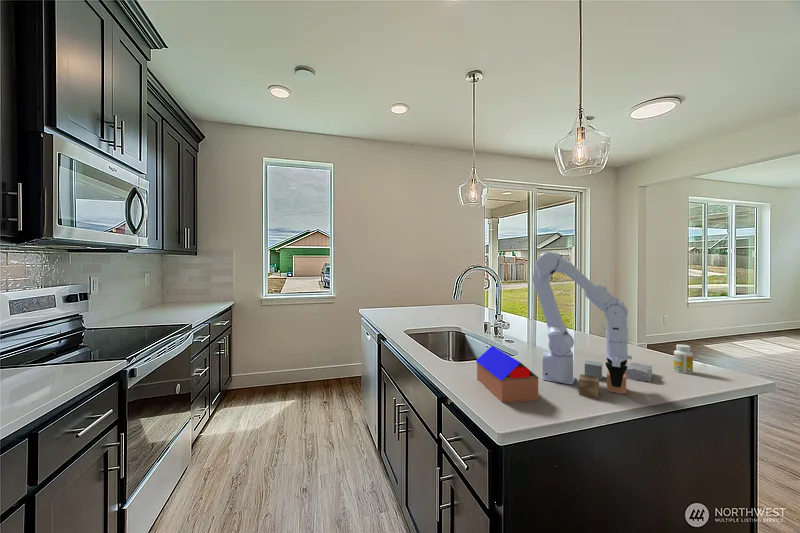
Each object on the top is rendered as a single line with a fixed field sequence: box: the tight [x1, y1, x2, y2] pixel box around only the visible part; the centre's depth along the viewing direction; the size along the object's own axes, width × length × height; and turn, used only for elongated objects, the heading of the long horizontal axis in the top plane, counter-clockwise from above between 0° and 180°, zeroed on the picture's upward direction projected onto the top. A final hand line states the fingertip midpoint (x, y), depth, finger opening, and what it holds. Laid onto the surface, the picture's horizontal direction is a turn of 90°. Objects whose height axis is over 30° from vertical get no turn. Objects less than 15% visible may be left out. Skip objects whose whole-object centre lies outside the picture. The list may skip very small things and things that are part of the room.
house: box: [475, 345, 540, 403], centre depth 107 cm, size 12×20×12 cm, turn 8°
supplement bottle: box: [673, 343, 694, 374], centre depth 122 cm, size 5×5×10 cm
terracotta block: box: [606, 370, 627, 395], centre depth 105 cm, size 5×5×5 cm
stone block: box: [625, 362, 653, 383], centre depth 119 cm, size 12×5×10 cm
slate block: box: [584, 359, 603, 381], centre depth 117 cm, size 5×5×5 cm
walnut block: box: [578, 374, 600, 399], centre depth 102 cm, size 5×5×5 cm
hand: (616, 383), depth 105 cm, fingers closed on terracotta block, 5 cm apart
